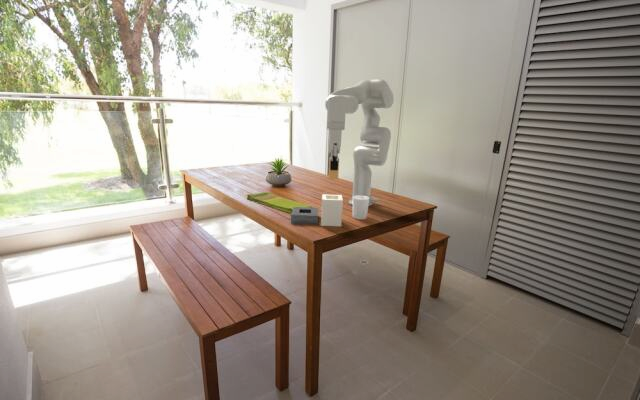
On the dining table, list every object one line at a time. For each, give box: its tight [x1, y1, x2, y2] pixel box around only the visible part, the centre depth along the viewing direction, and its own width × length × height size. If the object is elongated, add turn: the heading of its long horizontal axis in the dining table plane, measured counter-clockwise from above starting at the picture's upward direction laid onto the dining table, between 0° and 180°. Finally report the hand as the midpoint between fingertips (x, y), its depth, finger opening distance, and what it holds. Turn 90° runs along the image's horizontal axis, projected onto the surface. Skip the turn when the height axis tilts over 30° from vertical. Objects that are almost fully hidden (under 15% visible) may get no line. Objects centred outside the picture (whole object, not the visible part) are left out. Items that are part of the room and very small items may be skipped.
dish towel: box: [246, 191, 312, 215], centre depth 175 cm, size 15×36×3 cm, turn 49°
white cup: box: [351, 195, 369, 220], centre depth 156 cm, size 8×8×10 cm
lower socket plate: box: [290, 206, 319, 225], centre depth 152 cm, size 12×12×4 cm
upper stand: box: [320, 193, 344, 227], centre depth 148 cm, size 9×9×12 cm
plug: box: [328, 156, 340, 180], centre depth 142 cm, size 4×4×9 cm
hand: (333, 168), depth 142 cm, fingers closed on plug, 4 cm apart
